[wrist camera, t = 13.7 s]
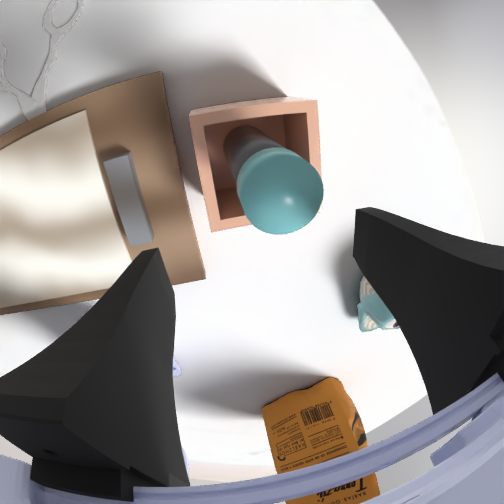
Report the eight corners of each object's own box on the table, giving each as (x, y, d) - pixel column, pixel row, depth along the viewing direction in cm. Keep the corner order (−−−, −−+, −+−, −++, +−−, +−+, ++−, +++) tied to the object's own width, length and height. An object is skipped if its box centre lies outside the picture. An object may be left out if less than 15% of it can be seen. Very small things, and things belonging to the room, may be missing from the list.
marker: (270, 164, 18) (323, 226, 11) (225, 172, 18) (247, 241, 11) (265, 120, 17) (322, 151, 9) (218, 127, 17) (235, 163, 9)
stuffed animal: (402, 367, 28) (358, 365, 21) (372, 323, 33) (319, 304, 26) (469, 302, 24) (455, 270, 17) (431, 261, 30) (399, 218, 23)
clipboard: (205, 271, 23) (206, 287, 21) (-4, 310, 21) (-11, 322, 19) (162, 72, 14) (157, 70, 13) (-63, 183, 13) (-76, 191, 11)
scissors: (79, -33, 8) (138, 221, 19) (83, -29, 9) (140, 216, 20) (-30, 41, 8) (30, 255, 18) (-25, 41, 8) (34, 251, 19)
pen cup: (295, 183, 20) (322, 211, 16) (207, 198, 19) (211, 232, 15) (287, 96, 17) (316, 100, 12) (191, 109, 16) (188, 116, 12)
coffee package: (349, 394, 40) (398, 511, 21) (278, 423, 41) (311, 541, 22) (338, 368, 34) (401, 516, 16) (252, 404, 35) (288, 551, 17)
